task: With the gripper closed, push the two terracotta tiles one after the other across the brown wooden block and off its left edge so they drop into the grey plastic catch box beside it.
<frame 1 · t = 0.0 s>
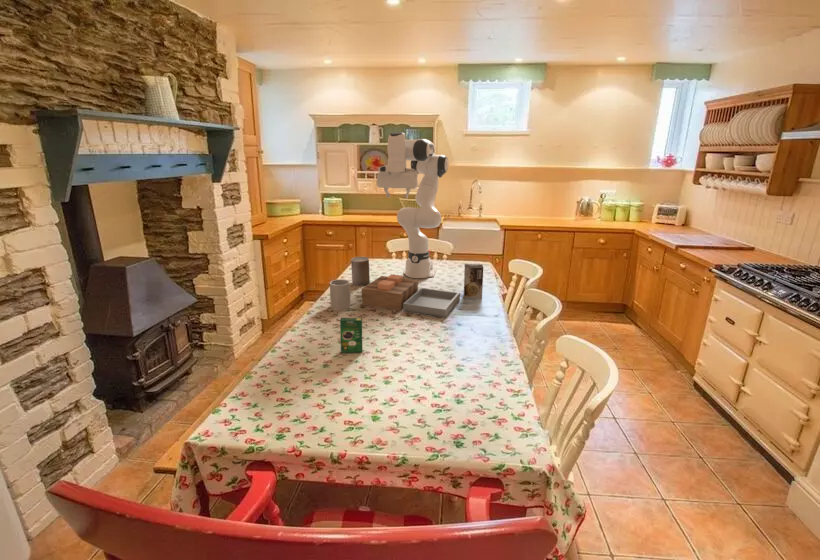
hand: (397, 197, 205), 48 cm above the table, tool pointing down, fingers open, 8 cm apart
terracotta tile 2: (394, 281, 210), point 8 cm above the table, touching brown wooden block
pillar candle: (360, 283, 233), on the table
coffee box: (472, 296, 213), on the table
coffee box 2: (352, 352, 156), on the table
terracotta tile 1: (386, 287, 201), point 8 cm above the table, touching brown wooden block
catch box: (432, 305, 200), on the table
brown wooden block: (390, 299, 208), on the table
cup: (340, 307, 199), on the table
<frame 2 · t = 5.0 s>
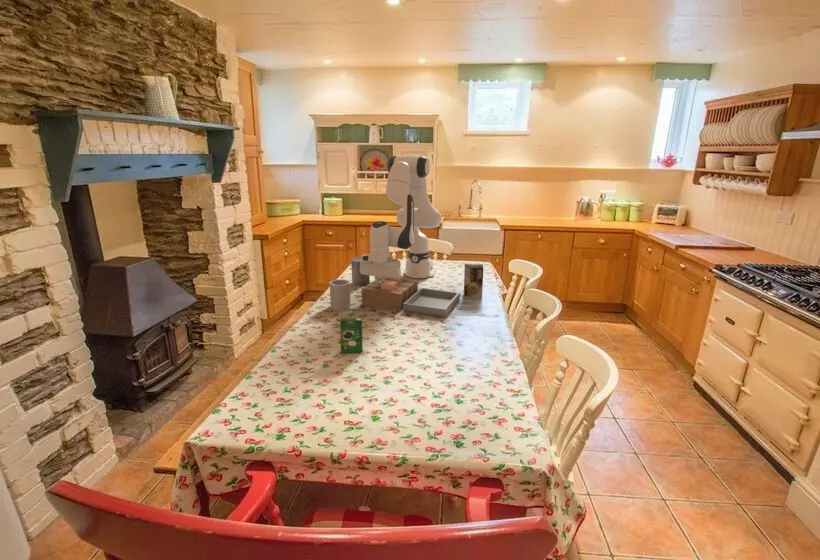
hand: (380, 285, 202), 9 cm above the table, tool pointing down, fingers closed
terracotta tile 1: (389, 287, 200), point 8 cm above the table, touching brown wooden block
everything else where it was.
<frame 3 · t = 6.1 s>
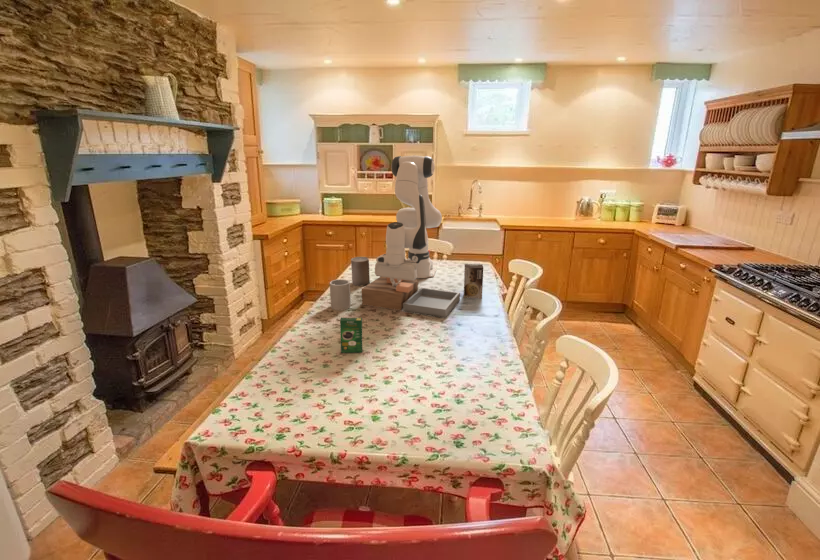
hand: (395, 287, 199), 9 cm above the table, tool pointing down, fingers closed
terracotta tile 1: (404, 289, 197), point 8 cm above the table, touching gripper
everything else where it was.
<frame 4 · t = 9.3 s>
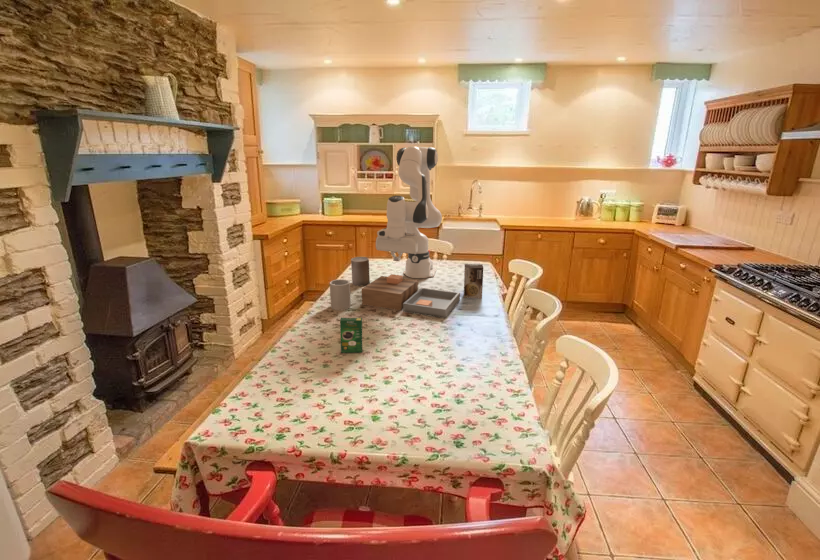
hand: (396, 260, 200), 20 cm above the table, tool pointing down, fingers closed
terracotta tile 1: (424, 302, 195), point 3 cm above the table, tilted 180°, touching catch box
everything else where it was.
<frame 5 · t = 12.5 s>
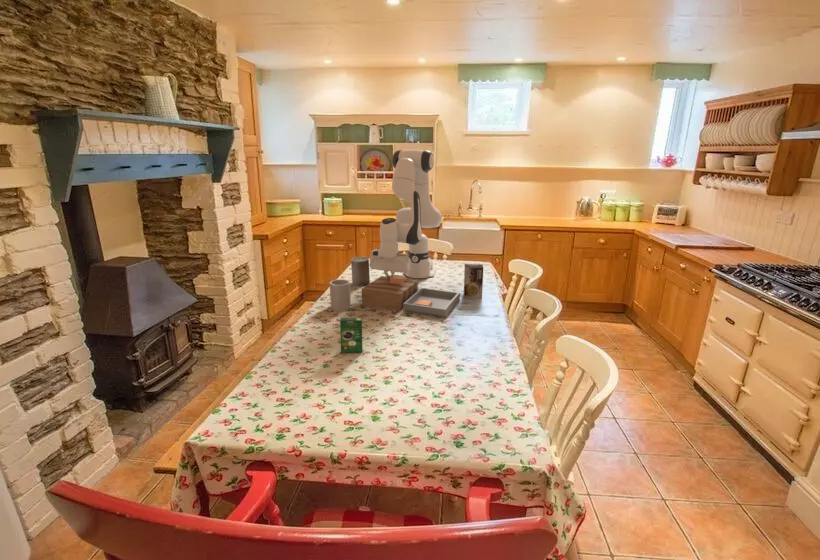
hand: (389, 279, 210), 9 cm above the table, tool pointing down, fingers closed
terracotta tile 2: (397, 281, 209), point 8 cm above the table, touching gripper
everything else where it was.
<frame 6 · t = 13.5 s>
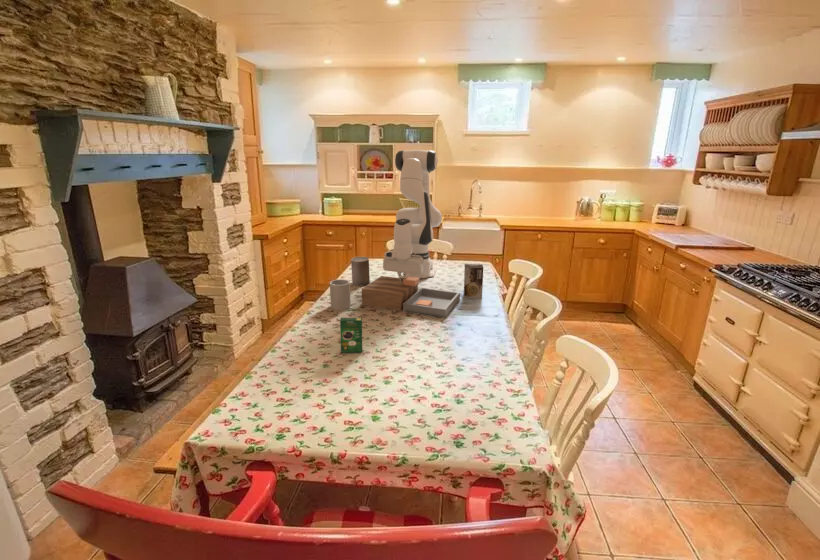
hand: (403, 280, 208), 9 cm above the table, tool pointing down, fingers closed
terracotta tile 2: (411, 283, 206), point 8 cm above the table, touching gripper
everything else where it was.
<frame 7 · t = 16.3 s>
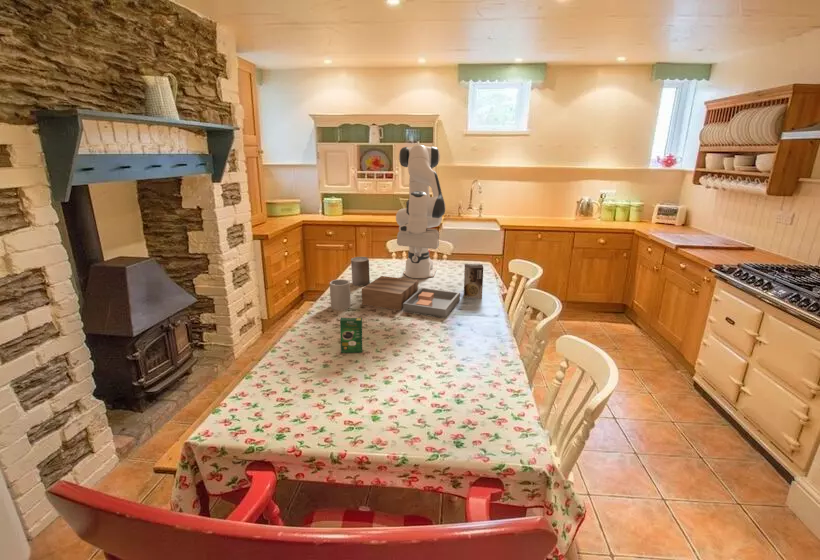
hand: (417, 256, 201), 22 cm above the table, tool pointing down, fingers closed
terracotta tile 2: (426, 294, 205), point 3 cm above the table, tilted 180°, touching catch box
everything else where it was.
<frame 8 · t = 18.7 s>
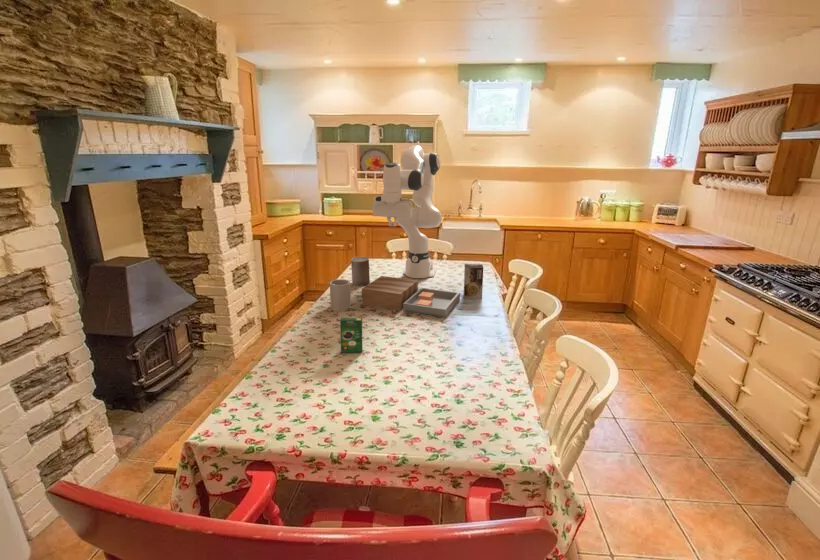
hand: (392, 226, 209), 34 cm above the table, tool pointing down, fingers closed
nothing on the table moved.
at the end: terracotta tile 1 inside the target area (5.9 cm from its centre), point 3.5 cm above the table; terracotta tile 2 inside the target area (6.4 cm from its centre), point 3.5 cm above the table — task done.
